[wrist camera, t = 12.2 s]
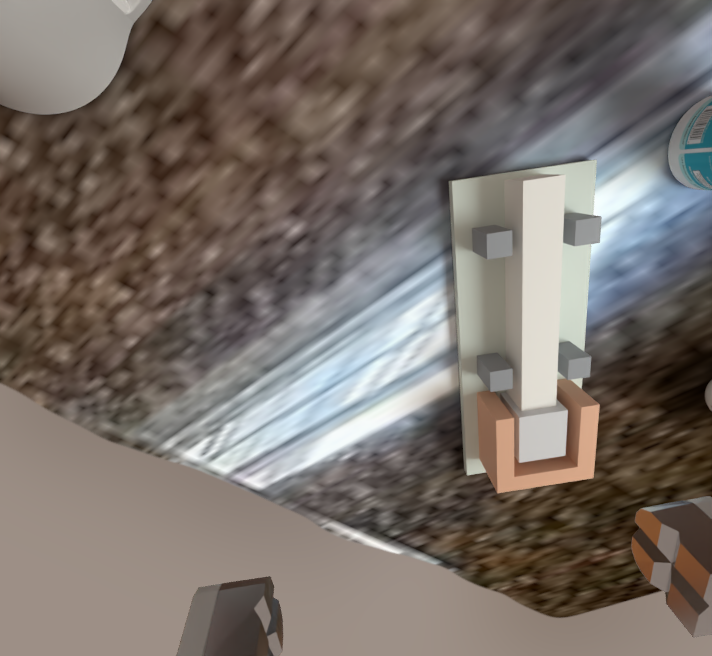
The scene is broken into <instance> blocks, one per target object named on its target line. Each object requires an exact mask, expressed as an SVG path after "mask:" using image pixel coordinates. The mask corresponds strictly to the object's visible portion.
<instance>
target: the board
mask: <svg viewBox="0 0 712 656" xmlns="http://www.w3.org/2000/svg"><path fill="white" fill-rule="evenodd" d="M596 164H597V160H586V161H580V162H573V163H566V164H560V165H553V166H546V167H539V168H533V169H526V170H519V171H513V172H506V173H499V174H492V175H486V176H479V177H472V178H466V179H459V180H452V181H449V199H450V217H451V236H452V254H453V272H454V291H455V309H456V327H457V346H458V364H459V382H460V401H461V419H462V438H463V456H464V470H465V472H466V474H467V475H472V474H478V473H485V472H487V474H488V476H489V478H490V480H491V482H492V484H493V486H494V487H495V489H496V491H497V493H502V492H508V491H514V490H521V489H527V488H533V487H540V486H546V485H552V484H559V483H565V482H571V481H578V480H584V479H590V478H593V476H594V464H595V452H596V441H597V429H598V417H599V404H598V403H597V402H596V401H595V400H594V399H592V398H591V397H590V396H589V395H588V394H587V393H585V392H584V391H583V390H582V378H585V377H590V367H591V356H590V355H588V354H587V353H585V352H584V346H585V331H586V316H587V301H588V285H589V270H590V255H591V244H594V243H600V231H601V217H600V216H594V215H593V210H594V195H595V179H596ZM541 174H559V175H566V179H565V203H564V227H563V252H562V276H561V300H560V324H559V348H558V372H557V396H556V399H557V400H558V401H559V402H560V403H561V404H562V405H563V406H564V407H565V408H566V409H567V410H568V418H567V436H566V455H565V456H560V457H554V458H547V459H541V460H535V461H528V462H522V463H519V462H518V460H517V459H516V457H515V456H514V417H513V416H512V414H511V413H510V412H509V410H508V409H507V408H506V406H505V405H504V404H503V402H502V401H501V400H500V393H504V392H506V390H507V389H513V369H512V368H511V367H510V365H509V364H508V363H507V362H506V312H505V257H508V256H512V230H510V229H507V228H505V197H504V180H508V179H514V178H521V177H528V176H535V175H541Z"/></svg>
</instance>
